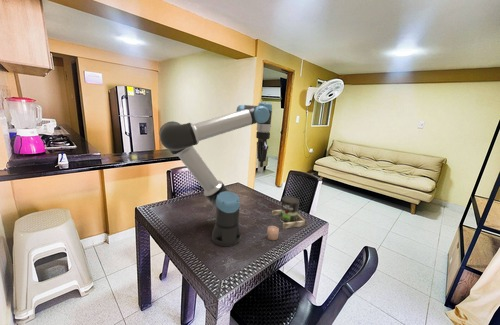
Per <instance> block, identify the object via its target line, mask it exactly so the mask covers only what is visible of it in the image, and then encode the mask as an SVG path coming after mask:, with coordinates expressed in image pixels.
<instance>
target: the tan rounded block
mask: <svg viewBox="0 0 500 325" xmlns="http://www.w3.org/2000/svg"><path fill="white" fill-rule="evenodd" d="M266 230H267V231H266V238H267V239H268V240H270V241H277V240H278V239H279V232H280V228H279V227H277V226H275V225H269V226H267V229H266Z"/></svg>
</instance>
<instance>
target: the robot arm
mask: <svg viewBox="0 0 500 325" xmlns="http://www.w3.org/2000/svg"><path fill="white" fill-rule="evenodd" d="M272 113H273V104H272V103H271V102H258V104H257V105H249V104H248V105H247V104H244V105H243V104H239V105H238V106H237V107H236V111H235V112H230V113H228V114H224V115H219V116H217V117H214V118H211V119H206V120H204V121H201V122H200V121H199V122H197V123H193V122H187V123H179V122H177V121H174V120H173V121H167V122H166V123H164V124H162V125H161V127H160V129H159V132H158V134H159V139H160V142H161V145H162V146H163V147H165V149H167V150H168V151H169V152H170V153H171V154H172V155H173V156H177V157H178V158H179V159H180V161H181V162H182V163H183V164H184V166H185V167H186V168H187V169H188V171H189V172H190V174H191V175H192V177H194V179H196V181H197V182H198V184H199V185H200V186H201V188H202V189H203V195H204V196H205V197H206V199H207V200H208V201H209V202H210V204H211V206H212V208H213V209H214V211H215V224H214V227H213V229H212V233H211V240H212V242H213V243H214V244H216V245H217V246H220V247H232V246H235V245H237V244H239V243H240V242H241V238H242V233H241V228H240V225H239V222H240V221H239V218H240V207H241V202H240V197H239V195H238V194H237V193H235V192H233V191H229V190H228V188H227V187H226V185H225V184H224V183H223V181H222V180H218V179H217V178H216V176H215V175H214V174H213V172H212V171H211V169H210V167H208V165H207V163H206V162H205V161H204V160H203V158H202V157H201V155H200V154H199V153H198V152H197V150H196V149H195V147H194V146H197V145H198V144H199V142H201V141H204V140H207V139H210V138H213V137H216V136H219V135H223V134H226V133H229V132H233V131H235V130H238V129H242V128H245V127H248V126H252V125H254V124H256V134H255V138H256V139H258V141H256V159H257V161H258V163H257V172H258V173H263V172H264V162H266V159H267V155H268V154H267V153H268V149H269V145H268V142H267V141H268V140H269V139H270V138H271V132H270V131H271V127H272V124H271V123H272V117H273V116H272V115H273V114H272Z"/></svg>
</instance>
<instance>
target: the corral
mask: <svg viewBox="0 0 500 325" xmlns="http://www.w3.org/2000/svg"><path fill="white" fill-rule="evenodd" d="M280 214H281V209H275V210H272V211H271V216H273V217H274V216H280ZM306 226H307V220H306V219H305V218H304V217H303V216H302V215H300V213H298V212H297V219H296V221H295V222H287V223H283V222H282V226H281V228H282V230H284V229H285V230H286V229H292V228H297V227H306Z"/></svg>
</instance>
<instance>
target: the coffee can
mask: <svg viewBox="0 0 500 325" xmlns="http://www.w3.org/2000/svg"><path fill="white" fill-rule="evenodd" d="M299 205H300V199H299V198H297V197H296V196H290V195H286V196H285V195H284V196H282V198H281V206H280V207H281V208H280V210H281V214H280V215H279V221H280V222H281V223H282V224H283V223H287V222H295V221H297V220H298V219H297V213H298V212H299Z"/></svg>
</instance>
